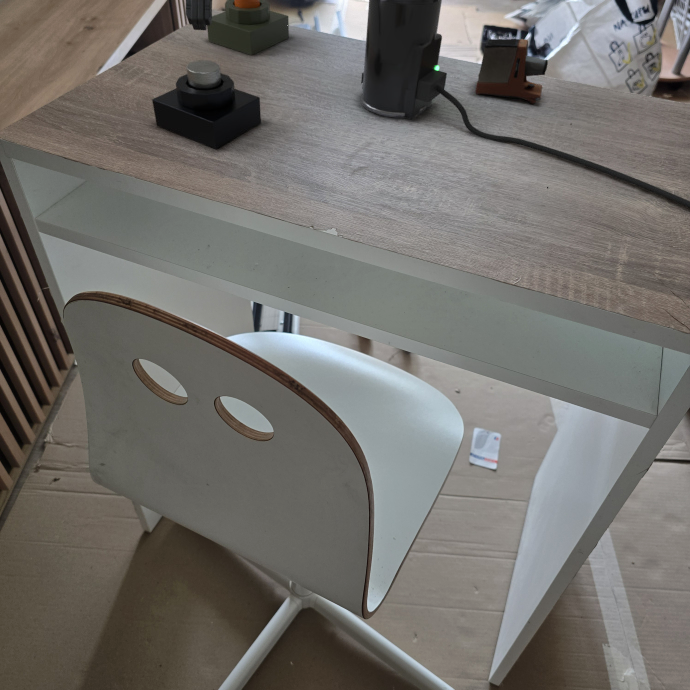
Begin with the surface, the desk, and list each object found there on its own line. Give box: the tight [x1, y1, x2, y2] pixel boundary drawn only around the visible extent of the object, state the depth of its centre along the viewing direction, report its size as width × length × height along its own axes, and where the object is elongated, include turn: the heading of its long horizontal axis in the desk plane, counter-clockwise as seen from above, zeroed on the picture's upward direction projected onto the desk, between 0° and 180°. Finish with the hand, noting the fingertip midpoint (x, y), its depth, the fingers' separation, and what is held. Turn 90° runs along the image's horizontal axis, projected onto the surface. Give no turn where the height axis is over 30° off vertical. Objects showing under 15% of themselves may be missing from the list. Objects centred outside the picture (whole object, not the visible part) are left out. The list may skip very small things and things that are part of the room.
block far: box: [206, 0, 290, 56], centre depth 98 cm, size 10×9×6 cm
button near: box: [186, 59, 221, 91], centre depth 74 cm, size 4×4×2 cm
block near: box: [151, 72, 262, 150], centre depth 77 cm, size 10×9×6 cm
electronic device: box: [475, 38, 549, 105], centre depth 88 cm, size 4×10×8 cm, turn 74°
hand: (199, 26), depth 71 cm, fingers closed
